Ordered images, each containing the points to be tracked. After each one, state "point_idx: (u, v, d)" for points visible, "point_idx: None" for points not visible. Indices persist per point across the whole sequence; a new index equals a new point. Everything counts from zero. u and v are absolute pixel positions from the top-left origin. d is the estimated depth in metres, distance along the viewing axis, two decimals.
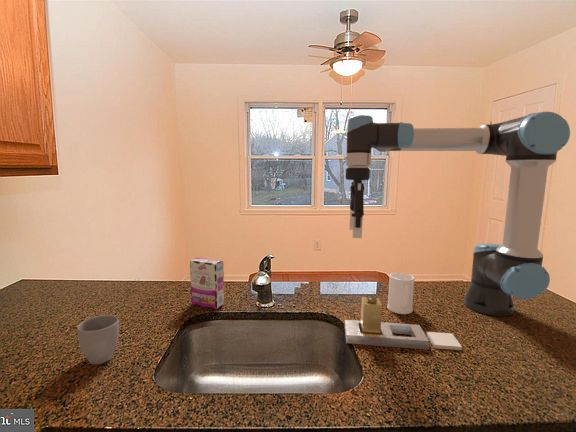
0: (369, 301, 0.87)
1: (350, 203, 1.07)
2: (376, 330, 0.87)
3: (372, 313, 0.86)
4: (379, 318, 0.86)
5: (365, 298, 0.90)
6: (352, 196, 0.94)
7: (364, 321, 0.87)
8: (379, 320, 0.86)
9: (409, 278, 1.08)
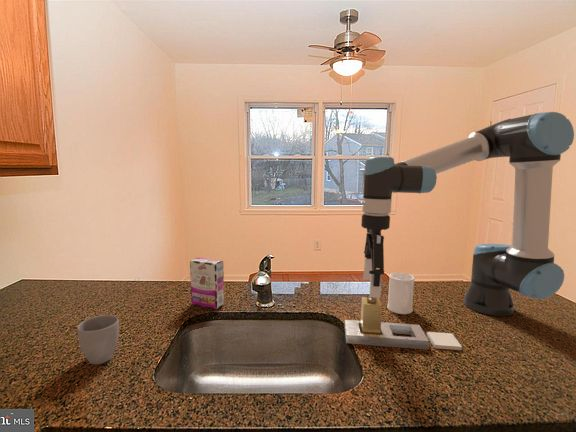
0: (369, 301, 0.87)
1: None
2: (376, 330, 0.87)
3: (372, 313, 0.86)
4: (379, 318, 0.86)
5: (365, 298, 0.90)
6: (369, 248, 0.82)
7: (364, 321, 0.87)
8: (379, 320, 0.86)
9: (409, 278, 1.08)
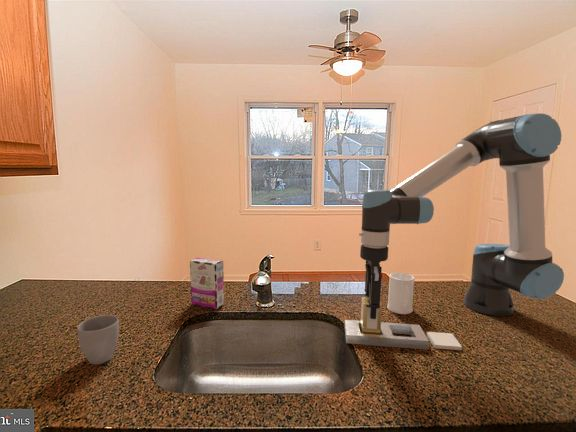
0: None
1: (365, 286, 0.93)
2: (376, 330, 0.87)
3: None
4: (379, 318, 0.86)
5: (365, 298, 0.90)
6: (367, 281, 0.85)
7: (364, 320, 0.87)
8: (379, 320, 0.86)
9: (409, 278, 1.08)
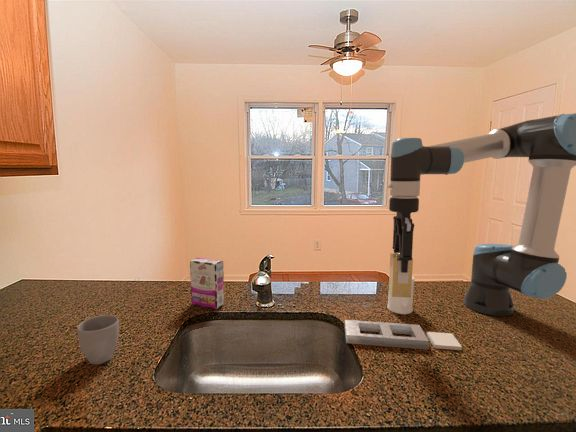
0: (399, 255, 0.84)
1: (393, 243, 0.91)
2: (407, 285, 0.84)
3: None
4: (410, 272, 0.83)
5: (394, 254, 0.87)
6: (398, 233, 0.82)
7: (394, 275, 0.84)
8: (410, 274, 0.83)
9: None
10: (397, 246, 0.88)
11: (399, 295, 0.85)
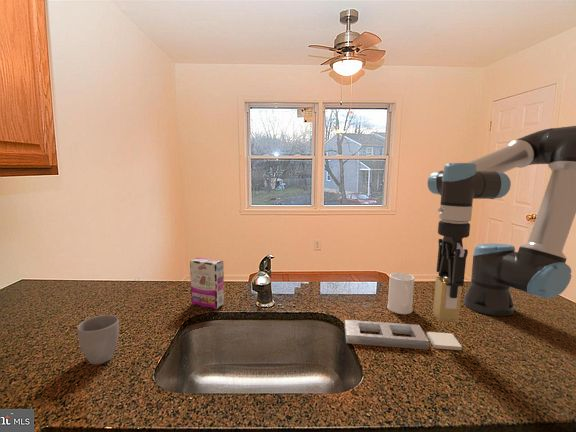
0: (447, 280, 0.83)
1: (437, 266, 0.90)
2: (454, 310, 0.83)
3: None
4: (458, 297, 0.82)
5: (440, 277, 0.86)
6: (448, 258, 0.81)
7: (442, 300, 0.83)
8: (458, 299, 0.82)
9: (409, 278, 1.08)
10: (443, 270, 0.87)
11: (446, 320, 0.84)
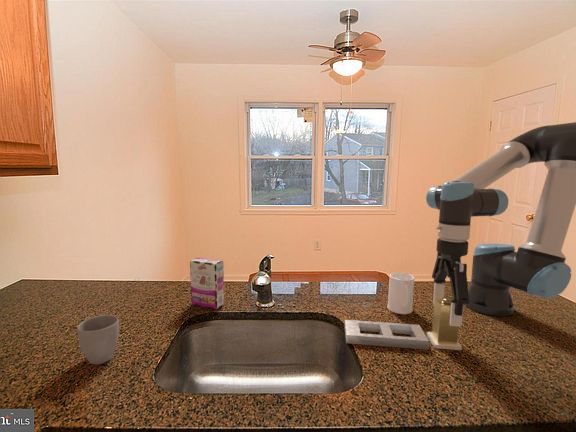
0: (446, 302, 0.84)
1: (433, 273, 0.93)
2: (453, 332, 0.84)
3: (449, 315, 0.83)
4: None
5: (439, 299, 0.87)
6: (448, 275, 0.81)
7: (441, 322, 0.84)
8: None
9: (409, 278, 1.08)
10: (438, 278, 0.91)
11: (445, 342, 0.85)
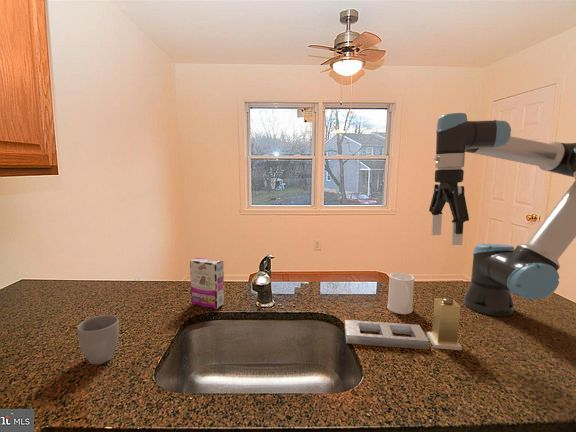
0: (446, 302, 0.84)
1: (430, 207, 1.01)
2: (453, 332, 0.84)
3: (449, 315, 0.83)
4: (457, 320, 0.83)
5: (439, 299, 0.87)
6: (447, 200, 0.88)
7: (441, 322, 0.84)
8: (457, 322, 0.83)
9: (409, 278, 1.08)
10: (436, 210, 0.98)
11: (445, 342, 0.85)
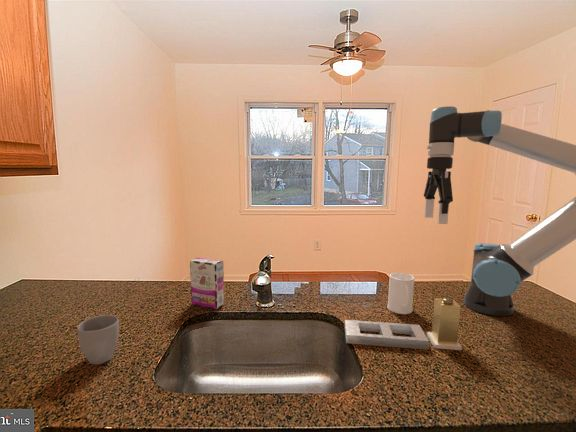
0: (446, 302, 0.84)
1: (425, 192, 1.12)
2: (453, 332, 0.84)
3: (449, 315, 0.83)
4: (457, 320, 0.83)
5: (439, 299, 0.87)
6: (436, 184, 0.99)
7: (441, 322, 0.84)
8: (457, 322, 0.83)
9: (409, 278, 1.08)
10: (429, 194, 1.09)
11: (445, 342, 0.85)
